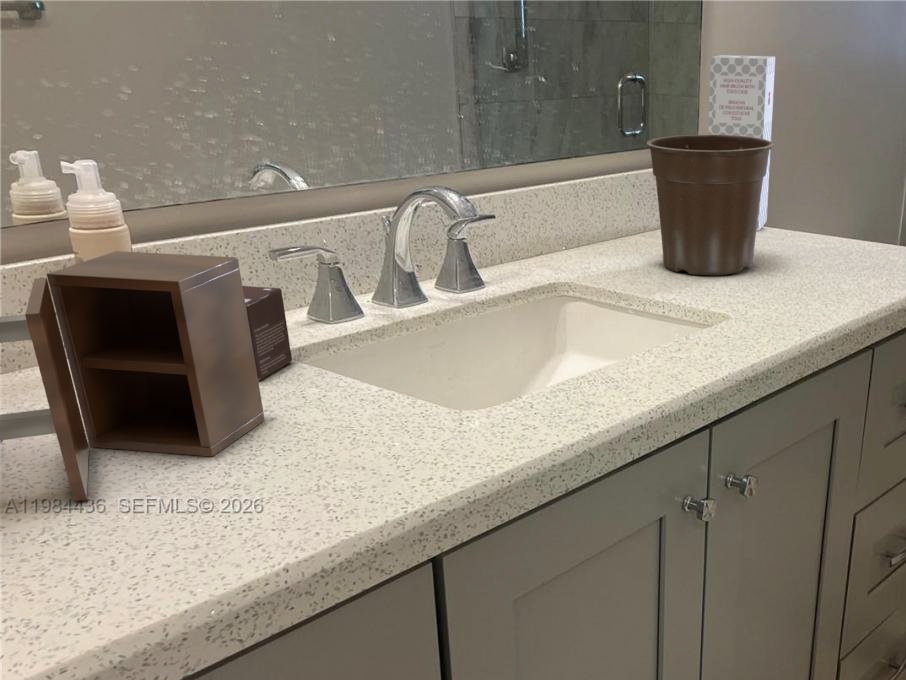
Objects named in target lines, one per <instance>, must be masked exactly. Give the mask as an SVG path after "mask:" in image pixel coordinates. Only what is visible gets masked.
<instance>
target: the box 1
mask: <svg viewBox="0 0 906 680" xmlns="http://www.w3.org/2000/svg"><path fill="white" fill-rule="evenodd" d="M242 286H243V292H244V298H245V304H246V310H247V316H248V322H249V328H250V334H251V340H252V346H253V352H254V358H255V364H256V370H257V376H258V381H262V379H264V378H267V376H269V375H270V374H272V373H274V372H275V371H278V370H279V369H280V368H283V367H284V366H286V365H287V364H290V363H291V362H292V361H293V358H292V350H291V345H290V337H289V330H288V323H287V318H286V310H285V303H284V298H283V292H282V288H280V287H267V286H266V287H265V286H250V285H242Z"/></svg>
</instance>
